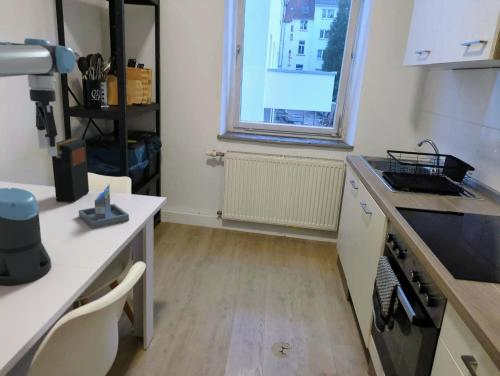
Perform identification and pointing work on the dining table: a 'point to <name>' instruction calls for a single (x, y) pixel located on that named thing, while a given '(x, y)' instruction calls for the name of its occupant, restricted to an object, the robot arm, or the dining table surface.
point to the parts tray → (114, 217)
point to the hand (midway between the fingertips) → (48, 152)
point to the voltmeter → (70, 170)
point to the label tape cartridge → (103, 205)
